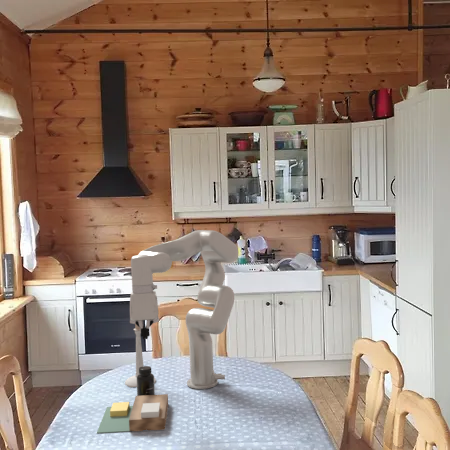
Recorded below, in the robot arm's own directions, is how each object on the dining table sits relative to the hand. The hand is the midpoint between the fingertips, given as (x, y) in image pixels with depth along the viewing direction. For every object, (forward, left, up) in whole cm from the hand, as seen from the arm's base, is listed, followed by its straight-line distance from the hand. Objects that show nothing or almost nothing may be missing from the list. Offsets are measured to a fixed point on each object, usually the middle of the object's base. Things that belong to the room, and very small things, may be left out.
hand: (145, 338), depth 214 cm
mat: (+10, +7, -27) cm, 30 cm away
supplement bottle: (+2, -12, -27) cm, 30 cm away
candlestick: (+6, -30, -27) cm, 41 cm away
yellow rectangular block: (+10, +1, -25) cm, 27 cm away
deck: (-1, +7, -27) cm, 28 cm away
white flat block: (-2, +13, -23) cm, 27 cm away
